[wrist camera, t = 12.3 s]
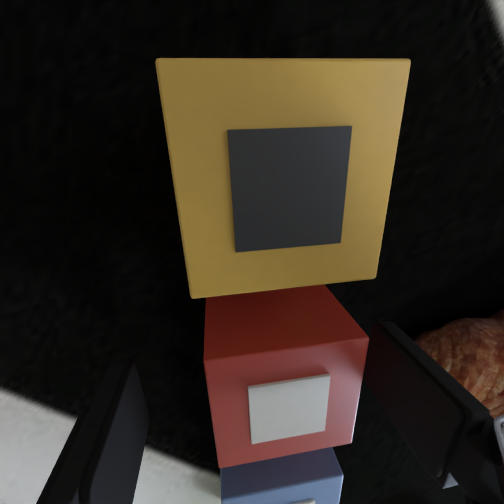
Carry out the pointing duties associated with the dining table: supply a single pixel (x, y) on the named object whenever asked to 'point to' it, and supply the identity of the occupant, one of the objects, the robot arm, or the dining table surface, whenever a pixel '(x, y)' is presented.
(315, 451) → the blue block
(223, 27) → the dining table surface
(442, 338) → the pastry
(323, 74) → the mustard block
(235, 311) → the red block
